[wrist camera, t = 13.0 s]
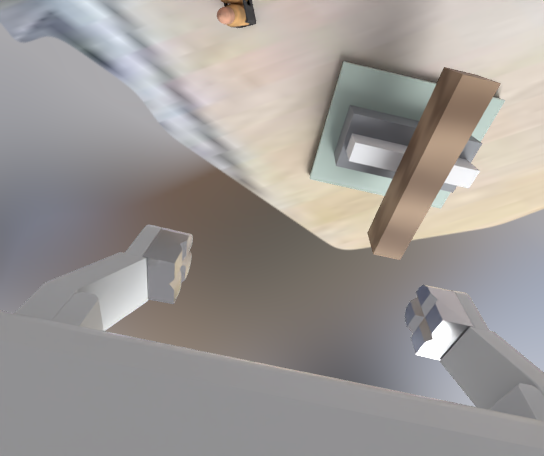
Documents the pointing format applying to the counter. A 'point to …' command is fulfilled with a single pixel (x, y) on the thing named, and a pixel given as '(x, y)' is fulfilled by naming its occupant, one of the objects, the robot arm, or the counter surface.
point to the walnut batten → (429, 158)
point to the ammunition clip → (237, 13)
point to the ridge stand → (383, 131)
